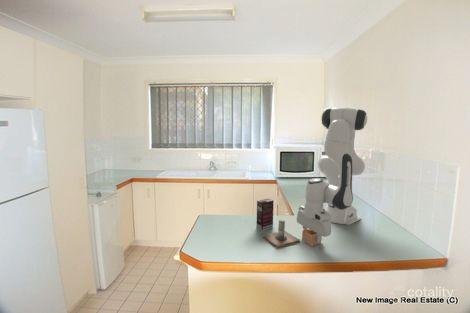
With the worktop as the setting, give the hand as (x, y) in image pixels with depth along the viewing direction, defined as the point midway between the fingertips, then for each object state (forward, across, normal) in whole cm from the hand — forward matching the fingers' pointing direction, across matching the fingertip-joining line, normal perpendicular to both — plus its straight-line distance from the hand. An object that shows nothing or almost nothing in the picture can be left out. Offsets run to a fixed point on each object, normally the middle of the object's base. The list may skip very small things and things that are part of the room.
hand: (311, 237), depth 135 cm
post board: (+2, -8, -13) cm, 15 cm away
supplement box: (+2, -24, -12) cm, 27 cm away
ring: (+2, 0, 0) cm, 2 cm away
